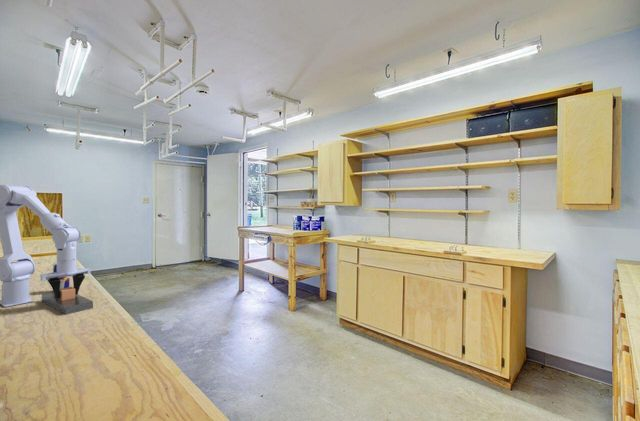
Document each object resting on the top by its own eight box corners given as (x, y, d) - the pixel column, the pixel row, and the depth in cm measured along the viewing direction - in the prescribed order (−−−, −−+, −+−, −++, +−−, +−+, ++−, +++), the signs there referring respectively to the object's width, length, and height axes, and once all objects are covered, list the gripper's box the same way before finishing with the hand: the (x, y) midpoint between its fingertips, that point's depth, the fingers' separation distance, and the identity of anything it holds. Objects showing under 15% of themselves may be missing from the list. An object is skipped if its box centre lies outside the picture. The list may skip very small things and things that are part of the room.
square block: (58, 305, 114) (58, 289, 114) (71, 302, 117) (71, 286, 117) (62, 307, 112) (62, 291, 111) (75, 304, 115) (75, 288, 115)
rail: (41, 301, 118) (41, 294, 118) (67, 296, 124) (67, 289, 124) (65, 314, 105) (65, 307, 105) (93, 308, 111) (93, 301, 111)
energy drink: (59, 293, 127) (59, 264, 127) (49, 292, 129) (49, 264, 128) (72, 290, 133) (72, 262, 132) (62, 289, 134) (62, 261, 134)
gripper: (45, 264, 106) (45, 303, 106) (94, 258, 118) (93, 293, 118) (38, 261, 110) (38, 299, 110) (86, 256, 122) (86, 290, 122)
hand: (66, 295), depth 114 cm, fingers open, 5 cm apart
